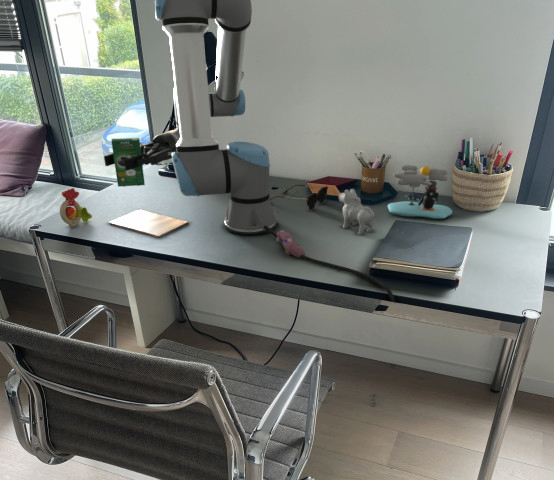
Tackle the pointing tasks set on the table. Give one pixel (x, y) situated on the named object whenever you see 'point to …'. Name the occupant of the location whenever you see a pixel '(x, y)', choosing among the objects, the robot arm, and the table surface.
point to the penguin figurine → (428, 205)
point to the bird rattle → (70, 213)
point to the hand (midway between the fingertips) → (115, 163)
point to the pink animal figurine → (289, 244)
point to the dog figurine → (356, 211)
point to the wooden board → (149, 223)
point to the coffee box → (124, 151)
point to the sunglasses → (311, 196)
